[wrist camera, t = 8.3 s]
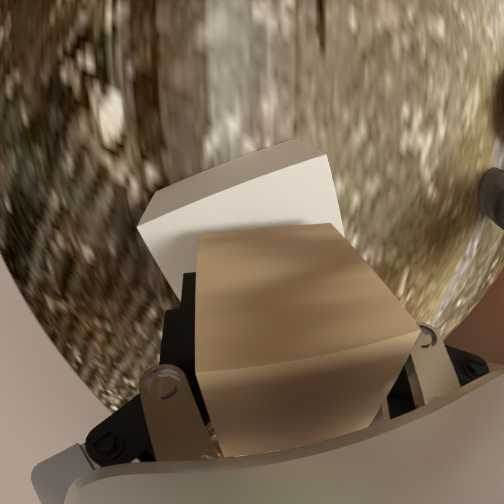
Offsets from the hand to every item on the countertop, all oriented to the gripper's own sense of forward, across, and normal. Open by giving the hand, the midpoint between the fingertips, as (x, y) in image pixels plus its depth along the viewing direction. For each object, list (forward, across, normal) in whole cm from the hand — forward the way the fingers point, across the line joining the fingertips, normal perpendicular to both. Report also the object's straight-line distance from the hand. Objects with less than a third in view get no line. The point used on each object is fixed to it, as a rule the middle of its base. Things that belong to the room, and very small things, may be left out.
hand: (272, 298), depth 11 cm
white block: (+7, 0, 0) cm, 7 cm away
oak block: (+1, 0, 0) cm, 1 cm away
